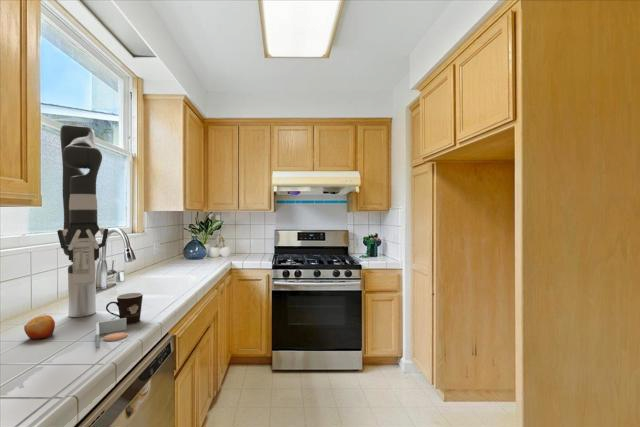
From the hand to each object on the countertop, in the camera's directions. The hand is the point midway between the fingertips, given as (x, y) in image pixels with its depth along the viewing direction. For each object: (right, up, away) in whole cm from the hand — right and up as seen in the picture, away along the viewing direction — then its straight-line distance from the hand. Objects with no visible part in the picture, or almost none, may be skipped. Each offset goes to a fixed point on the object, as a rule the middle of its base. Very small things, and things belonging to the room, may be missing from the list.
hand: (84, 260), depth 114 cm
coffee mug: (+3, -26, +18) cm, 32 cm away
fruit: (-17, -26, +3) cm, 31 cm away
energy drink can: (0, -8, 0) cm, 8 cm away
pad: (+8, -26, +3) cm, 27 cm away
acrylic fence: (+8, -26, +3) cm, 27 cm away
